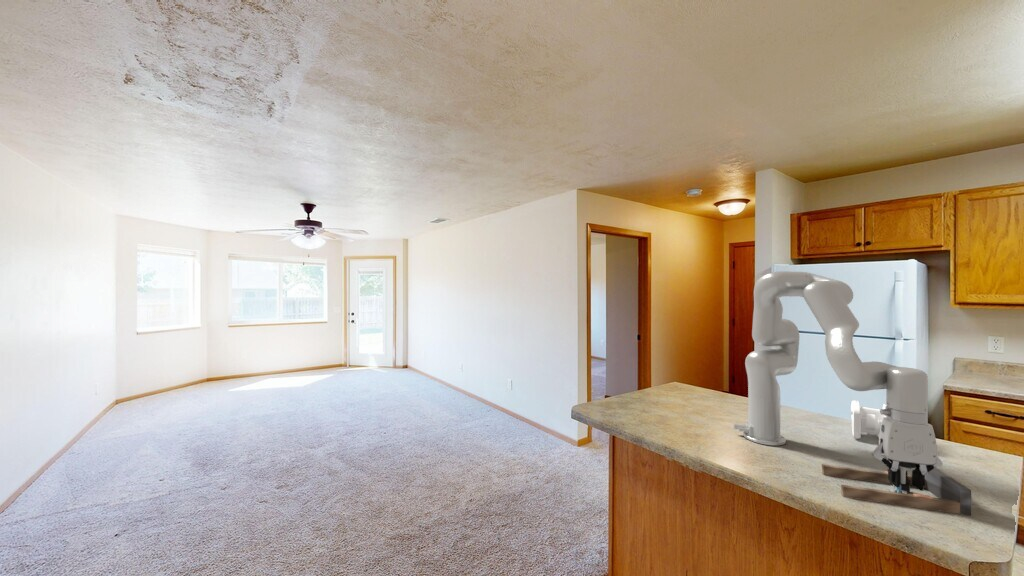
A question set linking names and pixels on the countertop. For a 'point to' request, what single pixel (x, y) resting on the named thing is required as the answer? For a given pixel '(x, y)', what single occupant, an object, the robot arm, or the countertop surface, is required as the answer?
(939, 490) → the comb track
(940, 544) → the countertop surface
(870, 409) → the cable organizer
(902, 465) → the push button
